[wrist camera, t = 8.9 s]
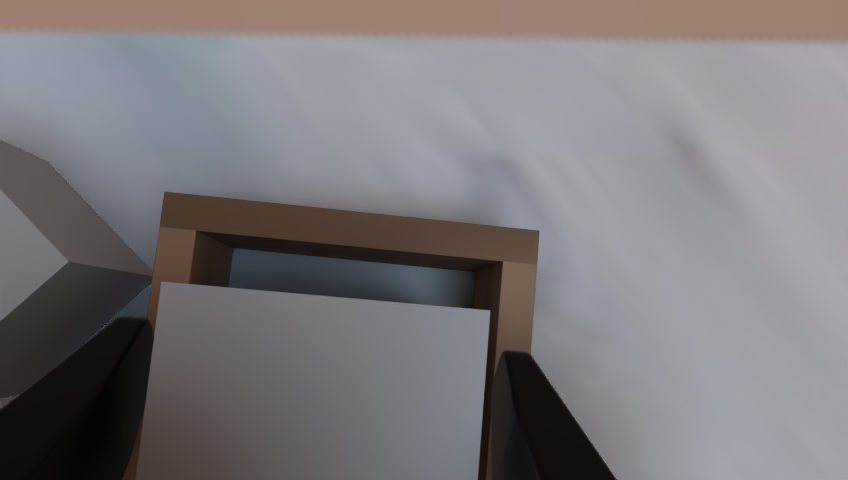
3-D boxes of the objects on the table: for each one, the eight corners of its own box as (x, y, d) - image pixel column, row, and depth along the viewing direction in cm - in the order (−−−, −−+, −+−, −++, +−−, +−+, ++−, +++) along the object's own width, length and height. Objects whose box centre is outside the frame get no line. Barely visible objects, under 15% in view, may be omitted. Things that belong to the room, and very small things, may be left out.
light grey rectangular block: (414, 469, 19) (464, 651, 9) (254, 457, 18) (114, 634, 8) (428, 310, 19) (490, 310, 9) (271, 296, 19) (161, 281, 9)
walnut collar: (480, 552, 18) (511, 618, 14) (166, 530, 18) (107, 594, 14) (504, 247, 19) (539, 230, 15) (208, 217, 19) (164, 191, 15)
